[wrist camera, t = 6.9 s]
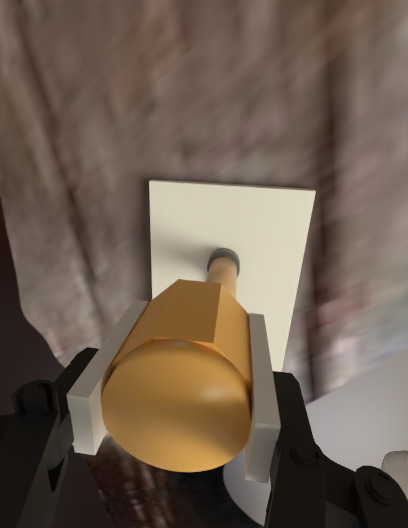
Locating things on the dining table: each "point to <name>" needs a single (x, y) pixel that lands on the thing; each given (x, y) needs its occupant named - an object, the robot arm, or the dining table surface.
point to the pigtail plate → (233, 245)
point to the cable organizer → (397, 468)
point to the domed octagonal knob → (183, 380)
